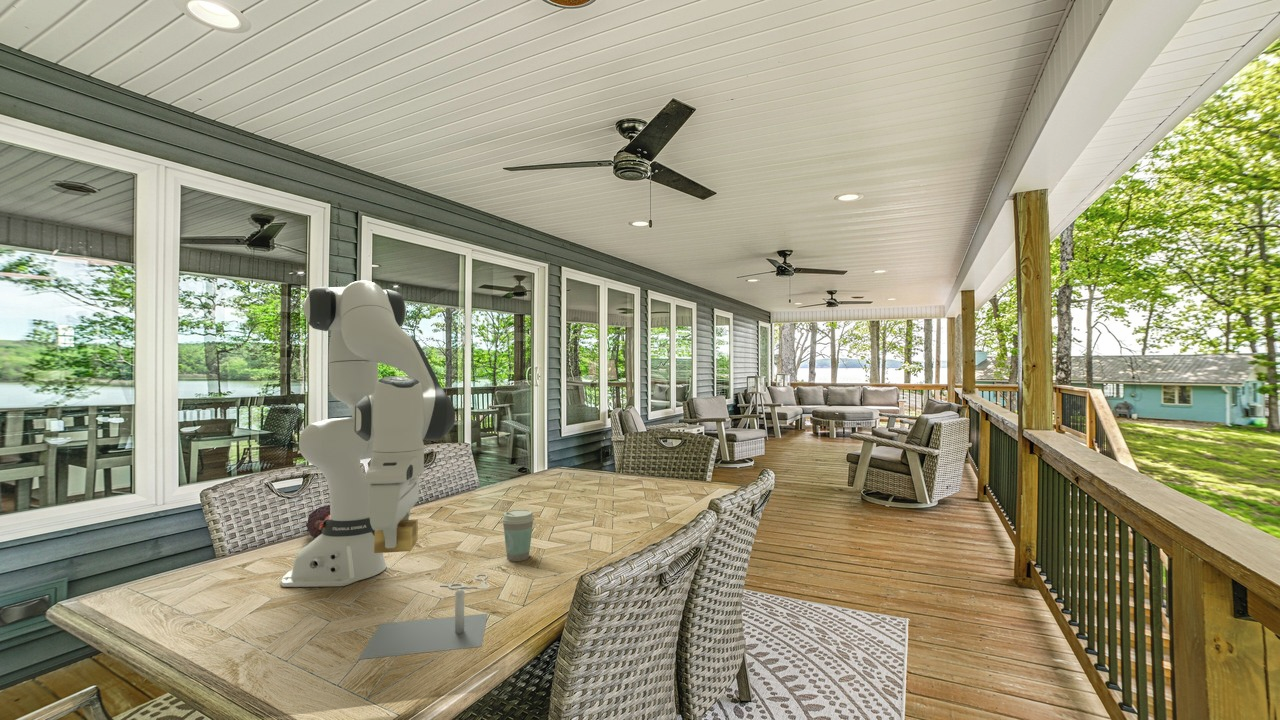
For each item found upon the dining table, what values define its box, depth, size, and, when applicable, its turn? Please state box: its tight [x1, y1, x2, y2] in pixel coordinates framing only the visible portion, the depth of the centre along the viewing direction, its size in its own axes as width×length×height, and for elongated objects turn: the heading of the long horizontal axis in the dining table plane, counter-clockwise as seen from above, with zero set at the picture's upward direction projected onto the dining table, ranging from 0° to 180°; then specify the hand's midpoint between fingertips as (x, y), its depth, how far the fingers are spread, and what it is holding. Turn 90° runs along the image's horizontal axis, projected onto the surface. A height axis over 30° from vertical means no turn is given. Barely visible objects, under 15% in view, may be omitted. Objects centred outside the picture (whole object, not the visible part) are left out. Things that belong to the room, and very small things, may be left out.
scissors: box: [440, 573, 520, 597], centre depth 121 cm, size 11×1×20 cm
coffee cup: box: [501, 509, 535, 562], centre depth 142 cm, size 8×9×12 cm
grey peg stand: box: [357, 588, 489, 661], centre depth 97 cm, size 20×13×9 cm, turn 102°
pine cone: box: [305, 504, 330, 540], centre depth 159 cm, size 18×10×10 cm, turn 50°
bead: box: [374, 519, 419, 554], centre depth 96 cm, size 6×6×4 cm
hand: (396, 540), depth 96 cm, fingers closed on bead, 6 cm apart
